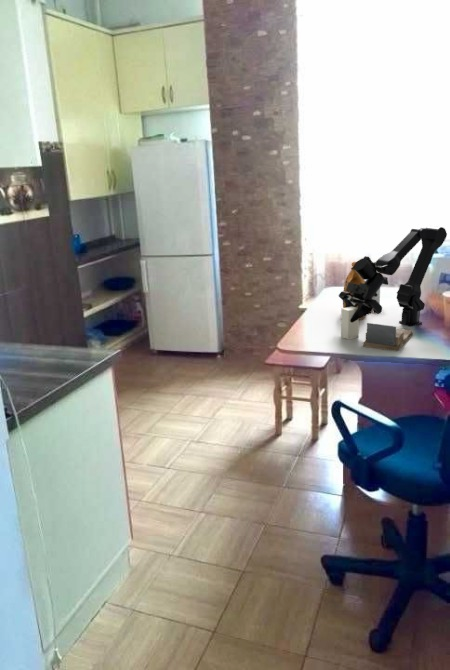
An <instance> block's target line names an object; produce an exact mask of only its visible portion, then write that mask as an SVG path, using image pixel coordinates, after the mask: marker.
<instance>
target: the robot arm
mask: <svg viewBox="0 0 450 670" xmlns="http://www.w3.org/2000/svg"><path fill="white" fill-rule="evenodd" d="M447 235H448V233H447V230H446V228H445V227H441V226H433V225H429V226H426V227H423V228H422V227H416V226H415V227H412V228H411V230H410V231H409V233H408V234H407V235H406V236H405V237H404V238H403V239H402V240H401V241H400V242H399V243H398V244H397V245H396V246H395V247H394V248H393V249H392V250H391V251H390V252H387V253H386V254H383V255H382V256H380V257H379V258H378V259H377V260H376V261H372V260H371V258H370V256H367V255H365V256H364V257H363V258H361V259H359V260H357V261H355V262H356V263H355V264H354V267H353V266H352V267H353V268H354V270H355V271H356V272H357V273H358V274H359V275H360V276H361V278H362V279H364V280H366V281H365V283H364V284H363V283H360V284H359V285H357V284H354V283H350V282H348V285H347V288H346V291H350V292H353V293H352V294H353V295H354V296H355V297H353V296H352V295H351V294H350V293H349V292H345V291H344V290H342V291H340V293H339V294H338V297H339V298H340V299H341V301H342V302H343V301H344V302H345V303H346V306H345V308H346V307H351V306H353V307H355V306H354V305H355V303H357V304H358V308H357V310H356V312H355V313H354V315H353V316H352V318H351V320H350V321H351V322H354V321H356V320H358V319H359V320H361V319H360V318H361V317H363V316H364V317H365V316H368V315H372V312H373V313H374V314H376V315H380V314H381V312H382V311H383V306H382V305H381V304H379V303H378V302H377V301H376V300H374V299H372V298H373V297H374V296H375V297H377V295H378V294H377V293H376V292H377V291H378V290H379V288H380V289H381V287H382V286H383V285H386V286H387V285H389V280H388V277H386V276H393V275H395V273H396V272H397V270H398V269H399V268H400V266H401V261H402V260H403V259H404V258H405V257H406V256H407V255H408V254H409V253H410V252H411V251H412V250H413V248H415V247H416V246H417V244H418V243H419V242H420V241H421V246H422V247H421V249H420V252H419V253H418V256H417V258H416V261H415V264H414V266H413V268H412V271H411V273H410V275H409V278H408V280H407V281H406V283H401V284H400V285H399V286H398V290H397V292H396V299H397V302H398V306H399V307H400V308H402V312H401V320H399V321H398V323H400V324H403V325H405V326H409V327H412V326H417V325H421V324H423V321H420V315H421V312H422V310H424V309H425V307H426V304H425V302H424V301H423V300H422V299H421V297H422V289H421V285H422V283H423V281H424V278H425V275H426V273H427V271H428V269H429V266H430V264H431V261H432V259H433V257H434V254H435V252H436V251H437V250H438V249H439V248H440V247H441V246H443V244H444V242H445V241H446V239H447ZM384 275H386V276H384ZM372 310H373V311H372Z"/></svg>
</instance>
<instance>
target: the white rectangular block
mask: <svg viewBox="0 0 450 670" xmlns="http://www.w3.org/2000/svg"><path fill="white" fill-rule="evenodd" d="M356 310H357V308H356V307H353V306H351V307H346V308H343V307H342V308H341V317H340V322H341V323H340V337H341V338H343V339H346V340H352V339H355V338H359V331H360V330H359V329H360V319H358V320H356V321H354V322H351V321H350V320H351V318H352V316H353V315H354V313H355V312H356Z"/></svg>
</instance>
